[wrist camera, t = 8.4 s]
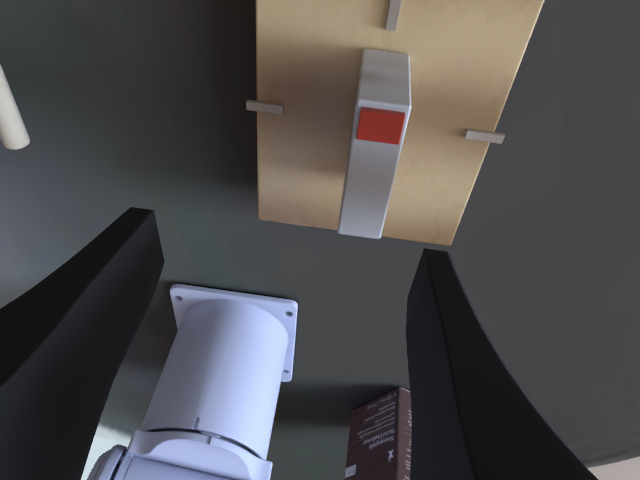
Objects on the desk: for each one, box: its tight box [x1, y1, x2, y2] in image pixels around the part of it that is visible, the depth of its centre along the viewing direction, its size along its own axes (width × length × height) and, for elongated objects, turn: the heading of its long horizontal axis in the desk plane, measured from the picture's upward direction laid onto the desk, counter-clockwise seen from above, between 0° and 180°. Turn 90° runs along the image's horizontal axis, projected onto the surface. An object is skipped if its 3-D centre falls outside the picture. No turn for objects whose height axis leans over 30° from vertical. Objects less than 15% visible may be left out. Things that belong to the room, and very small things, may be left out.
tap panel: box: [246, 0, 544, 246], centre depth 20 cm, size 12×10×3 cm
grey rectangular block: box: [338, 49, 411, 239], centre depth 18 cm, size 6×2×4 cm, turn 176°
